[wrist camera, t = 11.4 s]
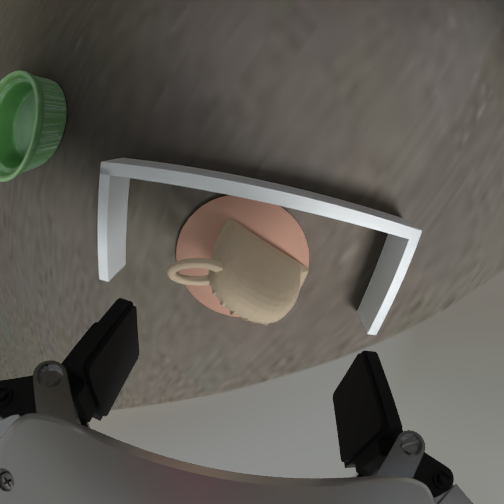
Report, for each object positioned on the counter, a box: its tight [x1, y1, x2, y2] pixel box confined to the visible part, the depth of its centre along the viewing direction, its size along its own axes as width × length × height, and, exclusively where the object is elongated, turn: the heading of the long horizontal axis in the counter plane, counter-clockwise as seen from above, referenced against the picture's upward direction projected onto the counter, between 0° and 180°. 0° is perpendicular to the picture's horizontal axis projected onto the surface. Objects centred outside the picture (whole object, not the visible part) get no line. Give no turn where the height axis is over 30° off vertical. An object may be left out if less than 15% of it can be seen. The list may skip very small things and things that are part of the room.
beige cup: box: [167, 219, 309, 325], centre depth 17 cm, size 4×8×5 cm, turn 55°
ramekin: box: [0, 70, 67, 182], centre depth 14 cm, size 9×9×4 cm
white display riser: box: [98, 158, 422, 335], centre depth 18 cm, size 21×8×3 cm, turn 78°
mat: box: [176, 195, 309, 317], centre depth 20 cm, size 10×10×1 cm
